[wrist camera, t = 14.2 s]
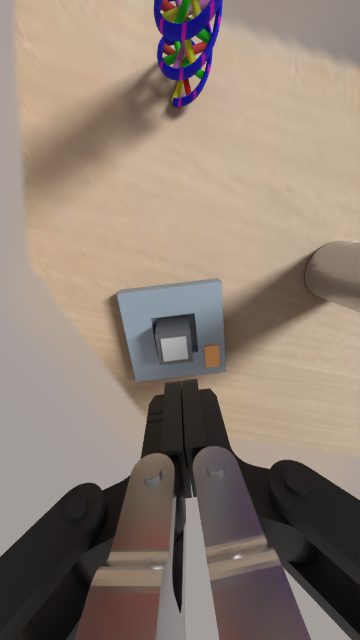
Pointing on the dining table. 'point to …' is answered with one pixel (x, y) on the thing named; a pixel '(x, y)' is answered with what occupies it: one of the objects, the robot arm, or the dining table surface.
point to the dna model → (186, 42)
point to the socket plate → (170, 301)
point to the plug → (173, 340)
